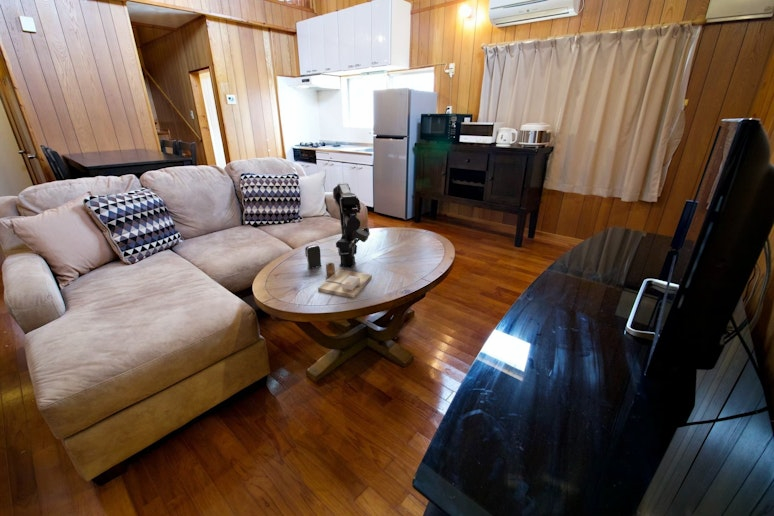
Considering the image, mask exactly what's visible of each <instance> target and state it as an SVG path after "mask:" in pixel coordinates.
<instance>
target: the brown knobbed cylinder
mask: <svg viewBox="0 0 774 516" xmlns="http://www.w3.org/2000/svg"><path fill="white" fill-rule="evenodd" d="M335 267H336V266H335V263H334V262H327V263H326V264H325V270H326V271H325V272H326V278H328V279H329V278H330V277H331V276H332V275H333V274H334V273H336V271H335Z"/></svg>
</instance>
